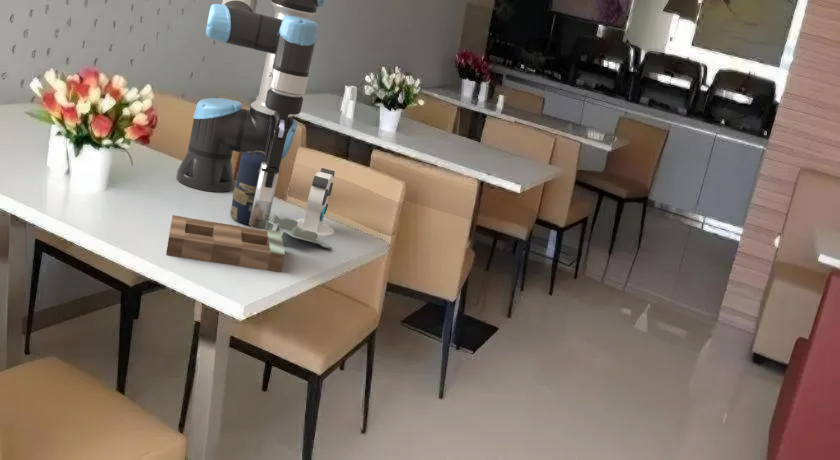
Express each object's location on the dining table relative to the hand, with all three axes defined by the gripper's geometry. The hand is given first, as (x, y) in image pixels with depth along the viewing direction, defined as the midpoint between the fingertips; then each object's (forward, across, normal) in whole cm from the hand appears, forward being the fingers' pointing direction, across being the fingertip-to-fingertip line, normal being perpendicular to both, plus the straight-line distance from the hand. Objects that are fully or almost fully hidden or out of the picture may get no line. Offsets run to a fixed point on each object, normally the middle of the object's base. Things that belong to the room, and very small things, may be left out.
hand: (264, 197), depth 179 cm
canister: (+14, -24, 0) cm, 28 cm away
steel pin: (+7, 0, 0) cm, 7 cm away
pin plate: (+14, 0, -6) cm, 15 cm away
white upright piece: (+14, -26, +16) cm, 34 cm away
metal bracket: (+14, -14, +10) cm, 23 cm away
